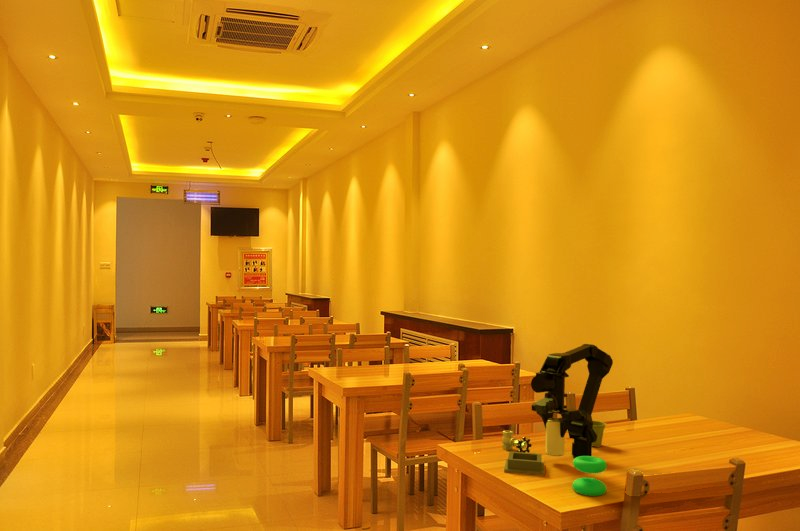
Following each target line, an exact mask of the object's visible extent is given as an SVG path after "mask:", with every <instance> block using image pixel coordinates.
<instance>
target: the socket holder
mask: <svg viewBox="0 0 800 531" xmlns="http://www.w3.org/2000/svg"><path fill="white" fill-rule="evenodd" d="M508 451H509V452H508V457H507V458H506V460H505V463H504V469H503V472H504V473H510V474H511V473H512V474H520V473H521V474H523V475H532V474H533V475H536V476H545V462H544V461H542V453H534V452H529V453H528V452H525V453H523V452H518V451H511V450H508Z"/></svg>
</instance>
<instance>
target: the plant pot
mask: <svg viewBox="0 0 800 531" xmlns="http://www.w3.org/2000/svg"><path fill="white" fill-rule="evenodd" d="M606 425H607V423H606V422H603V421H600V420H593V428H592V429H593V430H594V432H595V433H596V435H597V440H596V442H594V443H592V447H595V448H599V447H601V446H602V443H603V436H604V431H605V428H606Z"/></svg>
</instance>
